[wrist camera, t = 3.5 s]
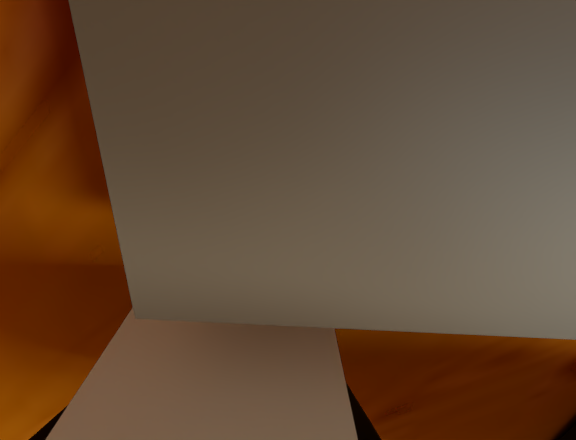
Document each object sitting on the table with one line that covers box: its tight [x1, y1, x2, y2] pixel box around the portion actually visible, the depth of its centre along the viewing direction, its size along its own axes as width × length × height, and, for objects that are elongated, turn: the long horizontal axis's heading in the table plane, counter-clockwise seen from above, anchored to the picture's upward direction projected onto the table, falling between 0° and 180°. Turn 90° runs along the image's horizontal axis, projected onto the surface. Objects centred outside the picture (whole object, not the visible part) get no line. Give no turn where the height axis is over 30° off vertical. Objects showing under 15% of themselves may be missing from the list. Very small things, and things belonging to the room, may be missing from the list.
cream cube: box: [46, 308, 358, 440], centre depth 7 cm, size 5×5×5 cm
